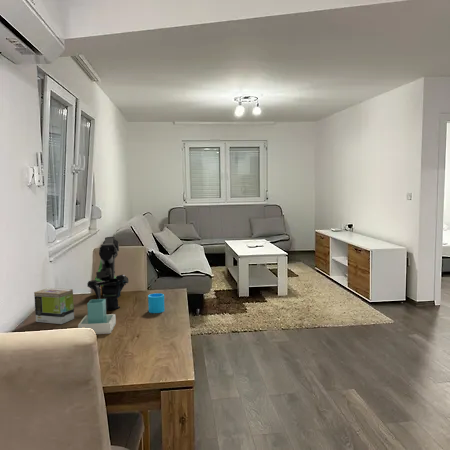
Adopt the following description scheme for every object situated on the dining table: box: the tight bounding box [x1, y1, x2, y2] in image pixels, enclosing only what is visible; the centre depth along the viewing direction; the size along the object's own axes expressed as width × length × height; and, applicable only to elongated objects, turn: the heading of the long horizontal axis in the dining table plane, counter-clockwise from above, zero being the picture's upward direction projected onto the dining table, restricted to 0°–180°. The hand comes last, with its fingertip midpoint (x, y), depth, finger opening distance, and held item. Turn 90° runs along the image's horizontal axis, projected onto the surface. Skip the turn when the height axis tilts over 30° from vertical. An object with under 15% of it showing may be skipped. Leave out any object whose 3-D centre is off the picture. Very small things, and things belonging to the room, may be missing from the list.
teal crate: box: [86, 298, 107, 324], centre depth 195 cm, size 7×7×12 cm
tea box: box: [33, 287, 75, 325], centre depth 209 cm, size 15×10×15 cm
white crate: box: [77, 313, 117, 335], centre depth 195 cm, size 14×14×4 cm
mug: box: [147, 292, 165, 314], centre depth 224 cm, size 12×8×8 cm
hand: (108, 299), depth 206 cm, fingers open, 9 cm apart
